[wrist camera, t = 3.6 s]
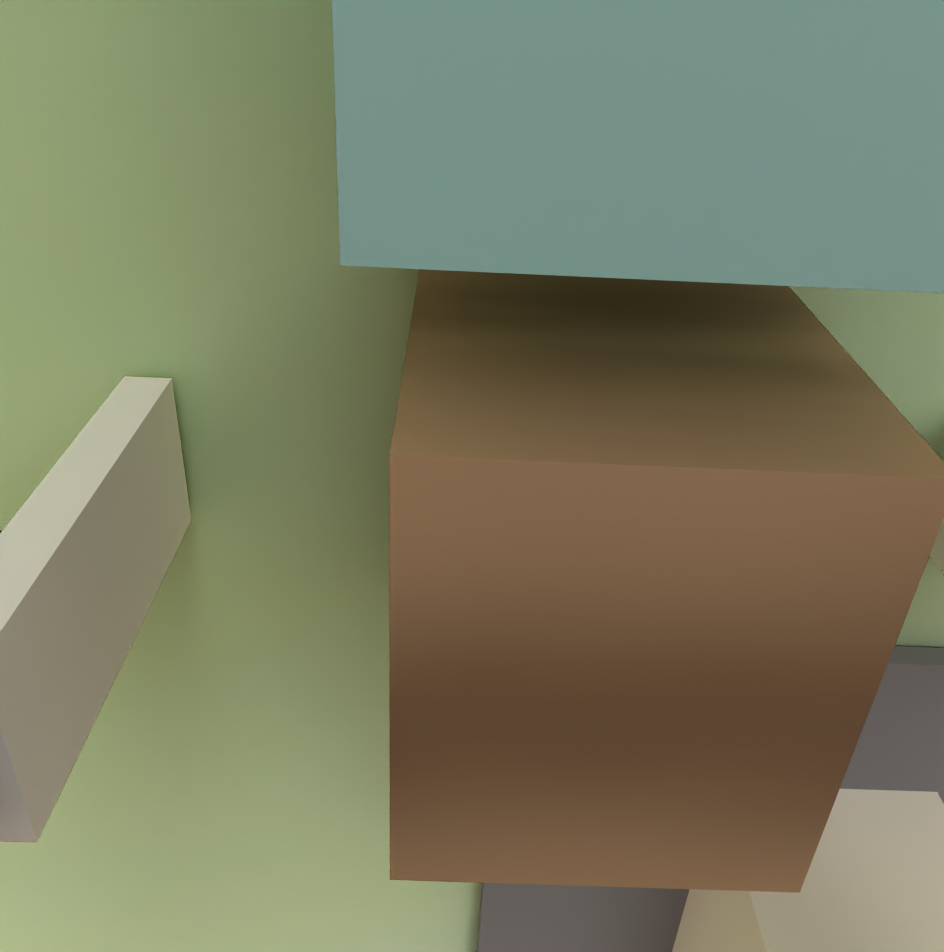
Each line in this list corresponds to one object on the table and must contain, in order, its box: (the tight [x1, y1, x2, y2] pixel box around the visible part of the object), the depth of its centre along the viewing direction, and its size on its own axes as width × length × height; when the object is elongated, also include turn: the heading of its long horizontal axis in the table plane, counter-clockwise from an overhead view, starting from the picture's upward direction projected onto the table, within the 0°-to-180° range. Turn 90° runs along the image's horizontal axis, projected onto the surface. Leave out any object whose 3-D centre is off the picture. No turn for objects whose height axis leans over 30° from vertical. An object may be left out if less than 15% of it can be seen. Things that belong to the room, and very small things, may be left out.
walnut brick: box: [389, 269, 944, 893], centre depth 13 cm, size 6×5×6 cm
